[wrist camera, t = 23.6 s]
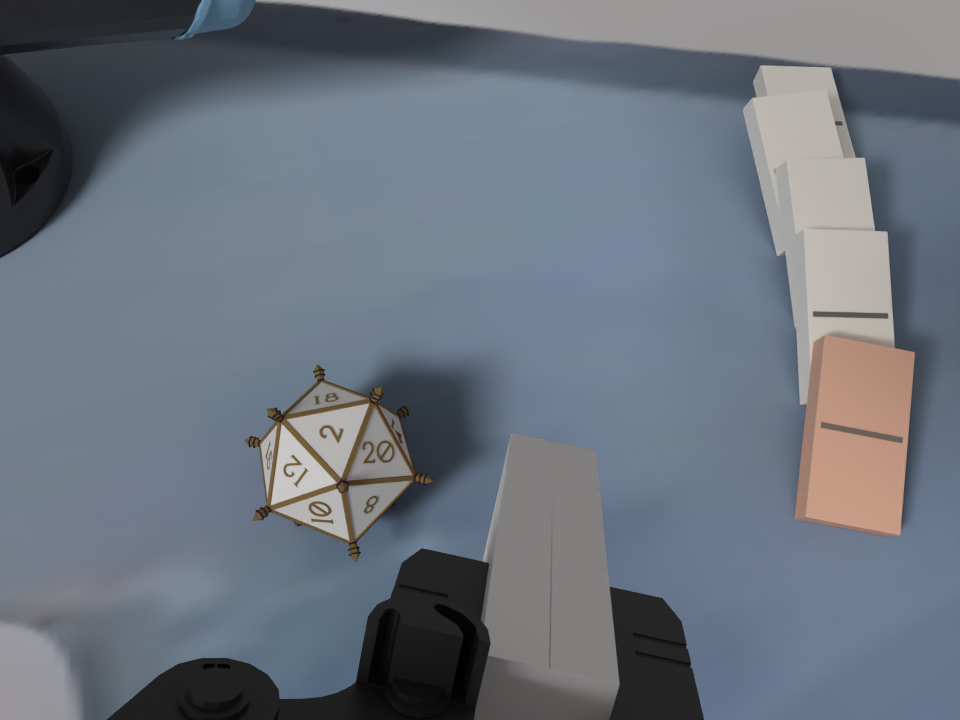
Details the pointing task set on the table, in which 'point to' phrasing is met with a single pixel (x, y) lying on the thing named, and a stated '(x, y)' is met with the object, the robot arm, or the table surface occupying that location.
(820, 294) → the domino
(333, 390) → the game die
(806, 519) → the domino
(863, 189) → the domino
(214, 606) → the table surface
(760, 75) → the domino
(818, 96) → the domino
